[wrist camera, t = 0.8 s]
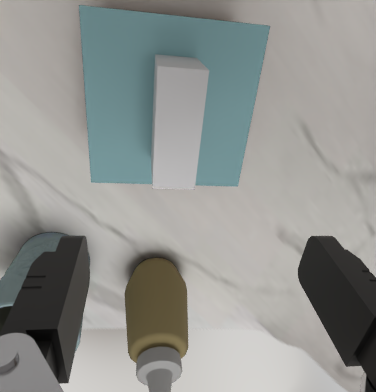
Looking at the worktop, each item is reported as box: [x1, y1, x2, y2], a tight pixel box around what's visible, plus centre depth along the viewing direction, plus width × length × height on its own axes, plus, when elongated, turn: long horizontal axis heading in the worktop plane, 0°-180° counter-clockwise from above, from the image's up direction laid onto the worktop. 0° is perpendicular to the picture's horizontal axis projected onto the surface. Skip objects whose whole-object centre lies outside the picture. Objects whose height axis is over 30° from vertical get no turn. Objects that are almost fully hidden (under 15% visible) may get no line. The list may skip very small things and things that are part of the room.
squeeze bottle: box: [125, 258, 188, 392], centre depth 36 cm, size 8×8×18 cm
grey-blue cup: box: [0, 232, 90, 351], centre depth 35 cm, size 10×10×12 cm
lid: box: [79, 5, 270, 190], centre depth 23 cm, size 13×13×7 cm
